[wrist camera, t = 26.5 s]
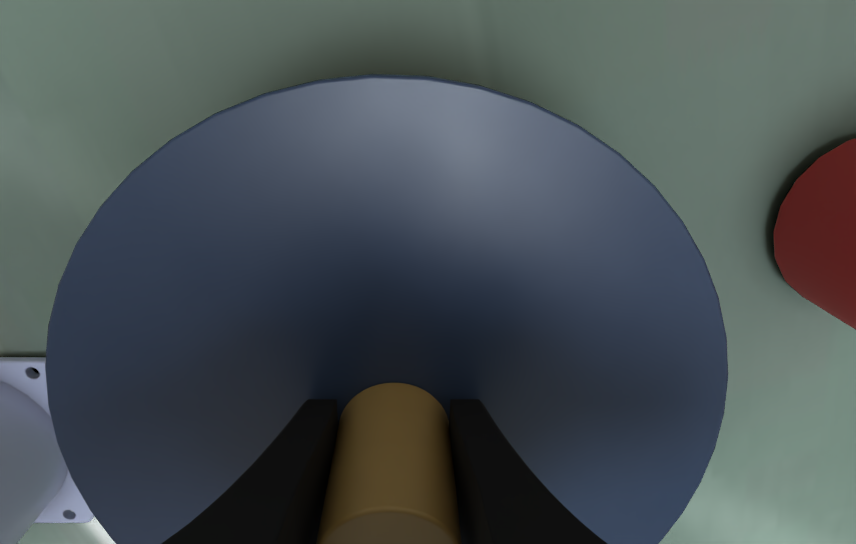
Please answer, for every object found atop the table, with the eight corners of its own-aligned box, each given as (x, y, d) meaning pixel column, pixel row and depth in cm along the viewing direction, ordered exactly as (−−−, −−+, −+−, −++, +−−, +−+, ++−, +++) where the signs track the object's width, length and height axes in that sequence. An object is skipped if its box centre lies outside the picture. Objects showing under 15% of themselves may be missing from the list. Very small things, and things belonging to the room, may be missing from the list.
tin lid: (148, 632, 16) (48, 852, 12) (-14, 85, 11) (-309, 109, 6) (664, 606, 16) (759, 812, 12) (754, 60, 11) (987, 64, 7)
